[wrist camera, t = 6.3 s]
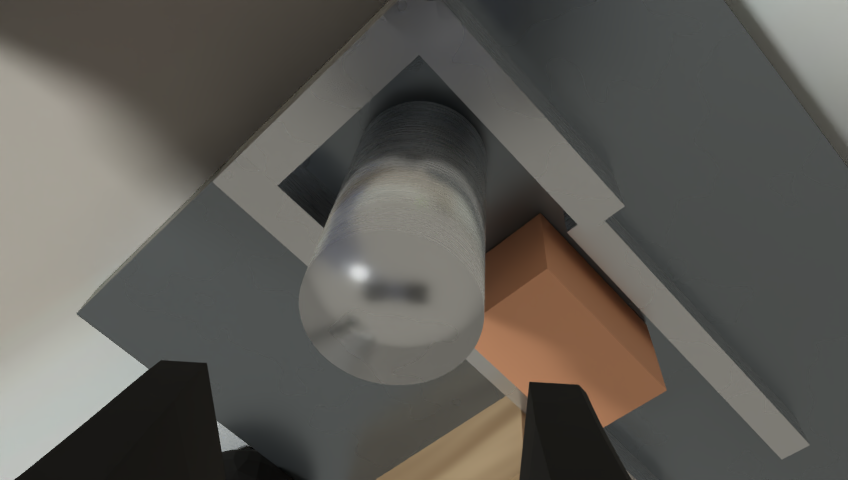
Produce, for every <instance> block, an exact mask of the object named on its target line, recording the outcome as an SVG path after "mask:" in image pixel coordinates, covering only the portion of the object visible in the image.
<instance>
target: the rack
mask: <svg viewBox="0 0 848 480" xmlns="http://www.w3.org/2000/svg"><path fill="white" fill-rule="evenodd" d="M525 419H526V414H525V413H524V412H523V411H522V410H521V409H520V408H519V407H517V406H516V405H515V404H514V403H513V402H512V401H511V400H510V399H509V398H508V397H507V396H505V397H503V398H502V399H500V400H499V401H497V402H495V403H494V404H492V405H491V406H489V407H488V408H486V409H485V410H483V411H481V412H480V413H478V414H477V415H475V416H474V417H472V418H471V419H469V420H467V421H466V422H464V423H463V424H461V425H460V426H458V427H457V428H455V429H453V430H452V431H450V432H449V433H447V434H446V435H444V436H443V437H441V438H439V439H438V440H436V441H435V442H433V443H432V444H430V445H429V446H427V447H425V448H424V449H422V450H421V451H419V452H418V453H416V454H415V455H413V456H411V457H410V458H408V459H407V460H405V461H404V462H402V463H401V464H399V465H397V466H396V467H394V468H393V469H391V470H390V471H388V472H387V473H385V474H383V475H382V476H380V477H379V478H377V479H376V480H519V477H520V467H521V458H522V448H523V438H524V428H525Z"/></svg>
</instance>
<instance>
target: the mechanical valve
mask: <svg viewBox="0 0 848 480" xmlns="http://www.w3.org/2000/svg"><path fill="white" fill-rule="evenodd" d="M222 457H223V464H224V470H225V476H226V479H225V480H294V479H293V478H292V477H290V476H289V475H288V474H287V473H285V472H284V471H283V470H281V469H280V468H279V467H277V466H276V465H275V464H273V463H272V462H271V461H269V460H268V459H267V458H265V457H264V456H263V455H261V454H260V453H259V452H258V451H255V450H253V449H247V450H229V451H224V452H222Z"/></svg>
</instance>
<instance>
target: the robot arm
mask: <svg viewBox="0 0 848 480" xmlns="http://www.w3.org/2000/svg"><path fill="white" fill-rule="evenodd" d="M225 479H226V476H225V470H224V464H223V457H222V451H221V445H220V439H219V433H218V427H217V421H216V415H215V409H214V403H213V397H212V390H211V384H210V378H209V372H208V366H207V363H201V362H184V361H167V360H160V361H159V362H158V363H157V364H155V365H154V366H153V367H152V368H150V369H149V370H148V371H146V372H145V373H144V374H143V375H142V376H140V377H139V378H138V379H137V380H136V381H134V382H133V383H132V384H131V385H130V386H128V387H127V388H126V389H125V390H124V391H122V392H121V393H120V394H119V395H118V396H116V397H115V398H114V399H113V400H112V401H110V402H109V403H108V404H107V405H106V406H105V407H103V408H102V409H101V410H100V411H99V412H97V413H96V414H95V415H94V416H93V417H91V418H90V419H89V420H88V421H87V422H85V423H84V424H83V425H82V426H81V427H79V428H78V429H77V430H76V431H74V432H73V433H72V434H71V435H69V436H68V437H67V438H66V439H65V440H63V441H62V442H61V443H60V444H58V445H57V446H56V447H55V448H53V449H52V450H51V451H50V452H49V453H47V454H46V455H45V456H44V457H42V458H41V459H40V460H39V461H37V462H36V463H35V464H34V465H32V466H31V467H30V468H29V469H28V470H26V471H25V472H24V473H22V474H21V475H20V476H19V477H17V478H16V479H15V480H225ZM519 480H632V479H631V478H630V476H629V474H628V472H627V471H626V469H625V467H624V465H623V464H622V462H621V460H620V458H619V456H618V455H617V453H616V451H615V449H614V447H613V446H612V444H611V442H610V440H609V438H608V436H607V434H606V432H605V431H604V429H603V427H602V425H601V423H600V421H599V419H598V417H597V415H596V413H595V410H594V408H593V406H592V404H591V402H590V400H589V397H588V395H587V393H586V392H585V391H584V390H583V389H582V388H581V386H580V385H577V384H560V383H543V382H529V389H528V399H527V409H526V419H525V428H524V438H523V448H522V458H521V467H520V477H519Z"/></svg>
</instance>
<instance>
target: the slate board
mask: <svg viewBox="0 0 848 480" xmlns="http://www.w3.org/2000/svg"><path fill="white" fill-rule="evenodd" d="M412 101H427V102H434V103H438V104H441V105H444V106H447V107H449V108H451V109H453V110H455V111H457V112H458V113H460V114H461V115H462V116H464V117H465V118H466V119H467V120H468V121H469V122H470V123H471V124H472V125H473V126H474V128H475V129H476V130H477V132H478V134H479V135H480V137H481V139H482V142H483V144H484V147H485V151H486V157H487V187H486V244H485V254H486V253H487V252H489V251H490V250H491V249H493V248H494V247H495V246H497V245H498V244H499V243H501V242H502V241H504V240H505V239H506V238H508V237H509V236H510V235H512V234H513V233H514V232H516V231H517V230H518V229H520V228H521V227H522V226H524V225H525V224H526V223H528V222H529V221H530V220H532V219H533V218H534V217H536V216H537V215H538V214H540V213H541V214H542V215H543V216H544V217H545V218H546V219H547V220H548V222H549V223H550V224H551V225H552V226H553V227H554V228H555V229H556V230H557V231H558V232H559V233H560V234H561V235H562V236H563V237H564V238H565V239H566V240H567V241H568V243H569V244H570V245H571V246H572V247H573V248H574V249H575V250H576V251H577V252H578V253H579V254H580V255H581V256H582V257H583V258H584V259H585V260H586V261H587V263H588V264H589V265H590V266H591V267H592V268H593V269H594V270H595V271H596V272H597V273H598V274H599V275H600V276H601V277H602V278H603V279H604V280H605V281H606V283H607V284H608V285H609V286H610V287H611V288H612V289H613V290H614V291H615V292H616V293H617V294H618V295H619V296H620V297H621V298H622V299H623V300H624V301H625V303H626V304H627V305H628V306H629V307H630V308H631V309H632V310H633V311H634V312H635V313H636V314H637V315H638V316H639V317H640V318H641V319H642V320H643V321H644V323H645V324H646V325H647V328H648V331H649V334H650V337H651V340H652V344H653V347H654V350H655V353H656V357H657V360H658V363H659V366H660V370H661V373H662V376H663V379H664V383H665V386H666V389H667V391H665V392H663V393H662V394H660V395H658V396H657V397H655V398H653V399H651V400H650V401H648V402H646V403H645V404H643V405H641V406H639V407H638V408H636V409H634V410H633V411H631V412H629V413H627V414H626V415H624V416H622V417H621V418H619V419H617V420H615V421H614V422H612V423H610V424H609V425H607V426H605V427H603V429H604V431H605V432H606V434H607V436H608V438H609V440H610V442H611V444H612V446H613V447H614V449H615V451H616V453H617V455H618V456H619V458H620V460H621V462H622V464H623V465H624V467H625V469H626V471H627V472H628V474H629V476H630V478H631V479H632V480H848V167H847V166H846V164H845V163H844V162H843V160H842V159H841V158H840V156H839V155H838V154H837V152H836V151H835V150H834V148H833V147H832V145H831V144H830V143H829V141H828V140H827V139H826V137H825V136H824V135H823V133H822V132H821V131H820V129H819V128H818V127H817V125H816V124H815V123H814V121H813V120H812V119H811V117H810V116H809V114H808V113H807V112H806V110H805V109H804V108H803V106H802V105H801V104H800V102H799V101H798V100H797V98H796V97H795V96H794V94H793V93H792V92H791V90H790V89H789V87H788V86H787V85H786V83H785V82H784V81H783V79H782V78H781V77H780V75H779V74H778V73H777V71H776V70H775V69H774V67H773V66H772V65H771V63H770V62H769V60H768V59H767V58H766V56H765V55H764V54H763V52H762V51H761V50H760V48H759V47H758V46H757V44H756V43H755V42H754V40H753V39H752V38H751V36H750V35H749V33H748V32H747V31H746V29H745V28H744V27H743V25H742V24H741V23H740V21H739V20H738V19H737V17H736V16H735V15H734V13H733V12H732V11H731V9H730V8H729V7H728V5H727V4H726V2H725V1H724V0H390V1H389V2H388V3H387V4H386V5H385V6H384V7H383V8H382V9H381V10H379V11H378V12H377V13H376V14H375V15H374V16H373V17H372V18H371V19H370V20H369V21H368V22H367V23H366V24H365V25H364V26H363V27H362V28H361V29H360V30H359V31H358V32H357V33H356V34H355V35H354V36H353V37H352V38H351V39H350V40H349V41H348V42H347V43H346V44H345V45H344V46H343V47H342V48H341V49H340V50H339V51H338V52H337V53H336V54H335V55H334V56H333V57H332V58H331V59H330V60H329V61H328V62H327V63H326V64H325V65H324V66H323V67H321V68H320V69H319V70H318V71H317V72H316V73H315V74H314V75H313V76H312V77H311V78H310V79H309V80H308V81H307V82H306V83H305V84H304V85H303V86H302V87H301V88H300V89H299V90H298V91H297V92H296V93H295V94H294V95H293V96H292V97H291V98H290V99H289V100H288V101H287V102H286V103H285V104H284V105H283V106H282V107H281V108H280V109H279V110H278V111H277V112H276V113H275V114H274V115H273V116H272V117H271V118H270V119H269V120H268V121H267V122H266V123H265V124H263V125H262V126H261V127H260V128H259V129H258V130H257V131H256V132H255V133H254V134H253V135H252V136H251V137H250V138H249V139H248V140H247V141H246V142H245V143H244V144H243V145H242V146H241V147H240V148H239V149H238V150H237V151H236V152H235V153H234V154H233V156H232V157H231V158H230V159H229V160H228V161H227V162H226V163H225V164H224V165H223V166H222V167H221V168H220V169H219V170H218V171H217V172H216V173H215V174H214V175H213V176H212V177H211V178H210V179H209V180H208V181H207V182H206V183H205V184H204V185H203V186H202V187H201V188H200V189H198V190H197V191H196V192H195V193H194V194H193V195H192V196H191V197H190V198H189V199H188V200H187V201H186V202H185V203H184V204H183V205H182V206H181V207H180V208H179V209H178V210H177V211H176V212H175V213H174V214H173V215H172V216H171V217H170V218H169V219H168V220H167V221H166V222H165V223H164V224H163V225H162V226H161V227H160V228H159V229H158V230H157V231H156V232H155V233H154V234H153V235H152V236H151V237H150V238H149V239H148V240H147V241H146V242H145V243H144V244H142V245H141V246H140V247H139V248H138V249H137V250H136V251H135V252H134V253H133V254H132V255H131V256H130V257H129V258H128V259H127V260H126V261H125V262H124V263H123V264H122V265H121V266H120V267H119V268H118V269H117V270H116V271H115V272H114V273H113V274H112V275H111V276H110V277H109V278H108V279H107V280H106V281H105V282H104V283H103V284H102V285H101V286H100V287H99V288H98V289H97V290H96V291H95V292H94V293H93V294H92V296H91V297H90V298H89V299H88V300H87V302H86V303H85V304H84V305H83V306H82V308H81V309H80V310H79V311H78V312H77V315H78V316H80V317H81V318H82V319H84V320H85V321H86V322H88V323H89V324H90V325H92V326H93V327H94V328H96V329H97V330H98V331H100V332H101V333H102V334H103V335H105V336H106V337H107V338H109V339H110V340H111V341H113V342H114V343H115V344H117V345H118V346H119V347H121V348H122V349H123V350H125V351H126V352H127V353H129V354H130V355H131V356H132V357H134V358H135V359H136V360H138V361H139V362H140V363H142V364H143V365H144V366H146V367H147V368H148V369H150V368H152V367H153V366H154V365H155V364H157V363H158V362H159V361H160V360H167V361H184V362H201V363H207V366H208V372H209V378H210V384H211V390H212V397H213V403H214V409H215V415H216V420H217V421H218V422H219V423H221V424H222V425H223V426H225V427H226V428H227V429H229V430H230V431H231V432H233V433H234V434H235V435H236V436H238V437H239V438H240V439H242V440H243V441H244V442H246V443H247V444H248V445H250V446H251V447H252V448H254V449H255V450H256V451H258V452H259V453H260V454H261V455H263V456H264V457H265V458H267V459H268V460H269V461H271V462H272V463H273V464H275V465H276V466H277V467H279V468H280V469H281V470H283V471H284V472H285V473H287V474H288V475H289V476H290V477H292V478H293V479H294V480H376V479H377V478H379V477H380V476H382V475H383V474H385V473H387V472H388V471H390V470H391V469H393V468H394V467H396V466H397V465H399V464H401V463H402V462H404V461H405V460H407V459H408V458H410V457H411V456H413V455H415V454H416V453H418V452H419V451H421V450H422V449H424V448H425V447H427V446H429V445H430V444H432V443H433V442H435V441H436V440H438V439H439V438H441V437H443V436H444V435H446V434H447V433H449V432H450V431H452V430H453V429H455V428H457V427H458V426H460V425H461V424H463V423H464V422H466V421H467V420H469V419H471V418H472V417H474V416H475V415H477V414H478V413H480V412H481V411H483V410H485V409H486V408H488V407H489V406H491V405H492V404H494V403H495V402H497V401H499V400H500V399H502V398H503V397H505V396H507V397H508V398H509V399H510V400H511V401H512V402H513V403H514V404H515V405H516V406H517V407H519V408H520V409H521V410H522V411H523V412H524V413H525V414H526V409H527V399H528V397H527V396H526V395H525V394H523V393H522V392H521V391H520V390H519V389H518V388H517V387H516V386H515V385H514V384H513V383H512V382H511V381H509V380H508V379H507V378H506V377H505V376H504V375H503V374H502V373H501V372H500V371H499V370H498V369H496V368H495V367H494V366H493V365H492V364H491V363H490V362H489V361H488V360H487V359H486V358H485V357H484V356H482V355H481V354H480V353H479V352H478V351H477V350H476V349H475V348H474V349H473V351H472V352H471V353H470V355H469V356H468V357H467V358H466V359H465V360H464V361H463V362H462V363H461V364H460V365H458V366H457V367H456V368H455V369H453V370H451V371H450V372H448V373H446V374H445V375H443V376H440V377H438V378H436V379H433V380H430V381H427V382H423V383H418V384H411V385H386V384H379V383H374V382H370V381H366V380H363V379H360V378H357V377H355V376H353V375H351V374H348V373H346V372H345V371H343V370H341V369H340V368H338V367H336V366H335V365H334V364H332V363H331V362H330V361H328V360H327V359H326V358H325V357H324V356H323V355H322V354H321V353H320V352H319V351H318V350H317V348H316V347H315V346H314V345H313V343H312V342H311V340H310V339H309V337H308V335H307V333H306V331H305V329H304V327H303V324H302V321H301V317H300V311H299V293H300V287H301V284H302V281H303V278H304V275H305V273H306V270H307V268H308V266H309V263H310V261H311V258H312V256H313V253H314V251H315V249H316V246H317V244H318V241H319V239H320V236H321V234H322V232H323V229H324V227H325V224H326V222H327V220H328V217H329V215H330V212H331V210H332V207H333V205H334V203H335V200H336V198H337V195H338V193H339V190H340V188H341V186H342V183H343V181H344V178H345V176H346V173H347V171H348V169H349V166H350V164H351V161H352V159H353V157H354V154H355V152H356V149H357V147H358V144H359V142H360V140H361V137H362V135H363V133H364V131H365V130H366V128H367V127H368V125H369V124H370V123H371V122H372V121H373V120H374V119H375V118H376V117H377V116H378V115H379V114H381V113H382V112H384V111H385V110H387V109H389V108H391V107H393V106H395V105H398V104H402V103H405V102H412Z"/></svg>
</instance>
